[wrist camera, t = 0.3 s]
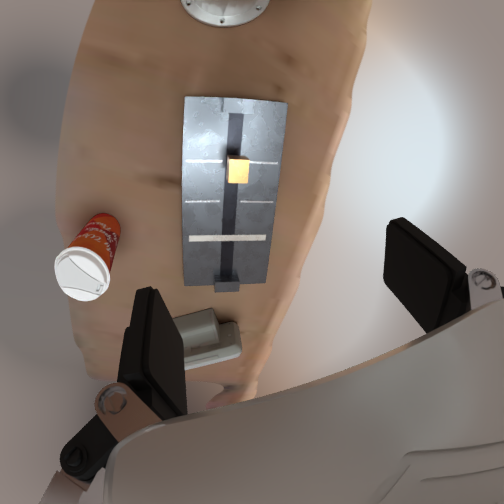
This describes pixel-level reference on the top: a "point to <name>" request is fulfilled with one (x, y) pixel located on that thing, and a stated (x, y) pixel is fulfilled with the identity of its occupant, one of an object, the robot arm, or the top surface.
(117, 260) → the top surface
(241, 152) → the grey slider board
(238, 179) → the fader tab
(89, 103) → the top surface
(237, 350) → the digital clock
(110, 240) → the paper cup
